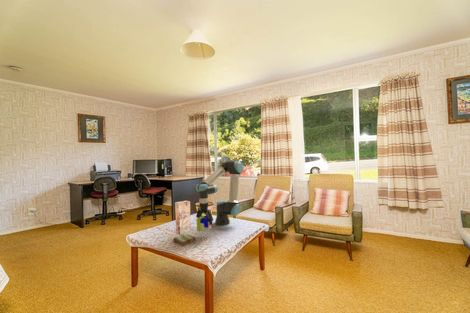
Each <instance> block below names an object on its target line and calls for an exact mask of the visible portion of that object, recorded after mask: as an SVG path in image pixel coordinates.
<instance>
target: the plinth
mask: <svg viewBox="0 0 470 313" xmlns="http://www.w3.org/2000/svg"><path fill="white" fill-rule="evenodd" d="M172 239H173V242H174V243H176V244H178V245H179V246H185V245H187V244H191V243H193V242H195V241H196V237H195V236H193V235H191V234H188V233H184V234H181V235H178V236H175V237H174V238H172Z"/></svg>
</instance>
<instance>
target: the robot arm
mask: <svg viewBox="0 0 470 313" xmlns="http://www.w3.org/2000/svg"><path fill="white" fill-rule="evenodd" d="M243 171H244V165H243V162H241V161H239V160H238V161H237V160H234V161H231V160H228V161H224V162H223V163H222V164H220V165H219V166H218V167H217V169H216V170H215V171H213V172H212V173H211V174H210V175H209V176H208V177H207V178H205V179H204V180H203V181H202V182H201V183H197V184H196V185H195V191H196V192H198V197H199V198H198V199H199V200H198V201H199V206H198V207H197V212H196V216H195V217H196V219H197V218H199V217H200V216H203V215H204V216H207V218H208V220H209V221H208V229H210V230H212V228H211V225H212V226H213V221H214V218H213V215H212V212H211V208H209V196H210V195H212V194H216V193H217V192H218V190H219V187H218V185H217V184H214V183H215V182H216V181H217V180H218V179H220V177H221V176H223V175H225V174H226V173H227V174H228V175H229V176H230V179H229V180H230V181H229V191H228V192H229V195H228V200H226V199H225V200H219V201H217V202H216V205H215V206H216V218H215V221H214V223H215V225H216V226H227V225H230V223H231V221H230V219H229V218H230V217H229V216H231V217H233V216H234V217H236V216H238V215H239V214H240V213H241V210H242V207H241V205H240V204H239V200H238V197H239V196H238V195H239V181H240V180H239V179H240V176H241V174H242V173H243Z"/></svg>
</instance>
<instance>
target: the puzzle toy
mask: <svg viewBox="0 0 470 313" xmlns="http://www.w3.org/2000/svg"><path fill="white" fill-rule="evenodd" d="M208 221H209V220H208V218H207V216H206V215H201V216H200V217H199V218H197V217H196V231H198V232H206V233H207V232H210V230H211V229H213V224H212V225H211V229H208Z"/></svg>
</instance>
